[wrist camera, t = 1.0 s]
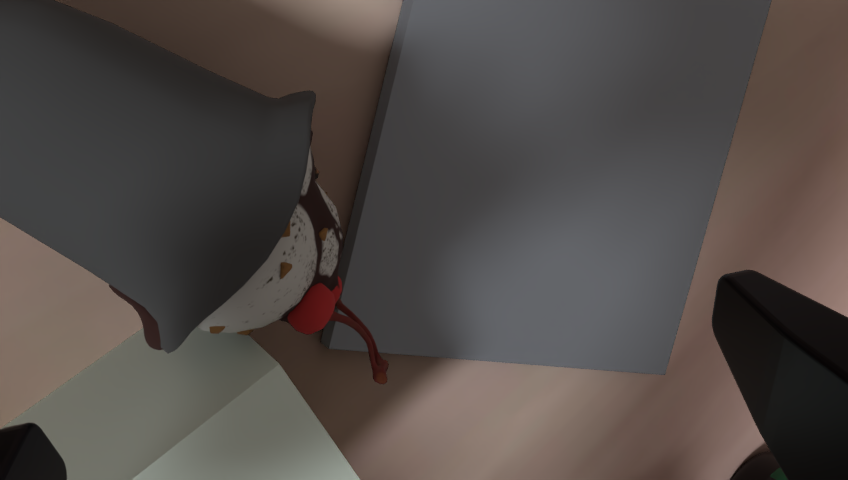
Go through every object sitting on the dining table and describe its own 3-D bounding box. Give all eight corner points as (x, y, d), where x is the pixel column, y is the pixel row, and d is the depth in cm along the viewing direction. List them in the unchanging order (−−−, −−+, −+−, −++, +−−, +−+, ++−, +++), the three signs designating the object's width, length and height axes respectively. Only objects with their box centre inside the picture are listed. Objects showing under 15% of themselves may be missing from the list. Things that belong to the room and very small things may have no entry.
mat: (653, 369, 31) (664, 374, 31) (320, 342, 22) (328, 348, 22) (758, -2, 30) (772, -4, 29) (450, -195, 21) (462, -201, 20)
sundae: (-623, 76, 8) (399, 477, 15) (-268, -379, 9) (532, 201, 16) (-365, 106, 14) (292, 390, 21) (-164, -175, 15) (396, 189, 22)
